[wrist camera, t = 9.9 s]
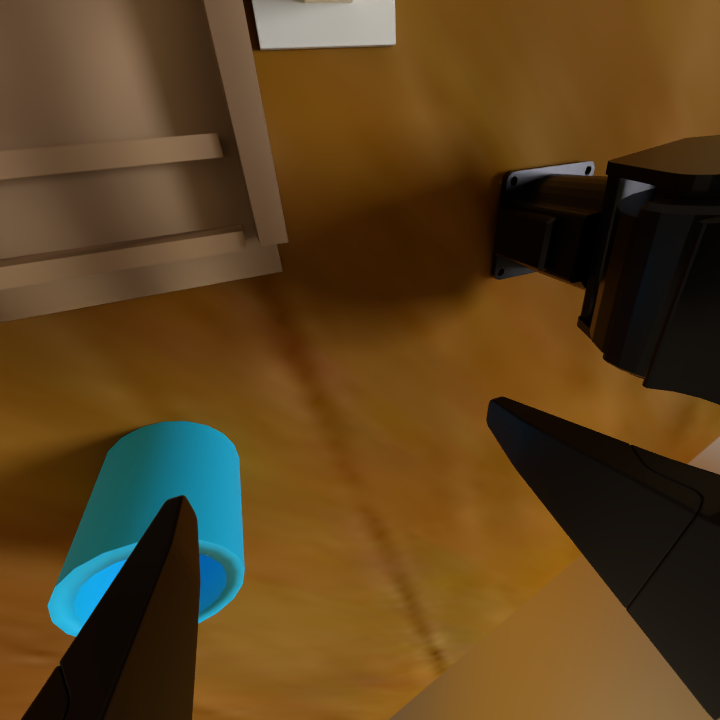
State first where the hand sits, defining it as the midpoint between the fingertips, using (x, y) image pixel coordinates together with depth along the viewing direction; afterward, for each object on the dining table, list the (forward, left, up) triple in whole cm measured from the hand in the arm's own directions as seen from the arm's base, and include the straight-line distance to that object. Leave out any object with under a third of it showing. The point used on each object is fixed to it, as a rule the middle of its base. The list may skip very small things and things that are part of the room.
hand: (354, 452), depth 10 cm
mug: (+10, +12, -13) cm, 20 cm away
